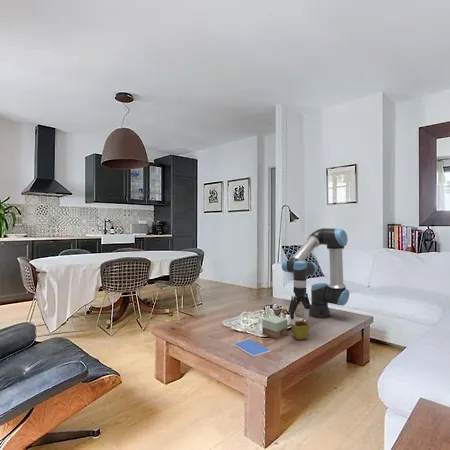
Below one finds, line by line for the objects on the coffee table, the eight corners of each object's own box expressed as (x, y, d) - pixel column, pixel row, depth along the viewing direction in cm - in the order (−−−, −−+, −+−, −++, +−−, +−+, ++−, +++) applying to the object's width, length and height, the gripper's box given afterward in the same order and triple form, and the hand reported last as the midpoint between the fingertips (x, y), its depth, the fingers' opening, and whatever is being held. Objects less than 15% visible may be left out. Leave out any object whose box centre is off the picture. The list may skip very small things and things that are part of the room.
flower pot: (296, 341, 191) (296, 326, 191) (290, 336, 200) (290, 321, 199) (309, 340, 193) (309, 325, 192) (303, 334, 201) (303, 320, 201)
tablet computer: (232, 345, 187) (232, 343, 187) (250, 341, 194) (250, 338, 194) (253, 358, 171) (253, 355, 171) (271, 352, 178) (271, 350, 178)
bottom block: (273, 330, 210) (273, 322, 210) (287, 335, 202) (287, 327, 202) (262, 334, 203) (262, 327, 203) (276, 339, 195) (276, 331, 195)
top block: (273, 322, 210) (273, 315, 210) (287, 327, 202) (287, 319, 202) (262, 327, 203) (262, 319, 202) (276, 331, 195) (276, 323, 194)
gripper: (306, 282, 206) (305, 316, 207) (282, 288, 189) (281, 324, 190) (316, 284, 201) (316, 318, 201) (292, 291, 184) (292, 328, 184)
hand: (299, 321), depth 195 cm, fingers open, 13 cm apart
